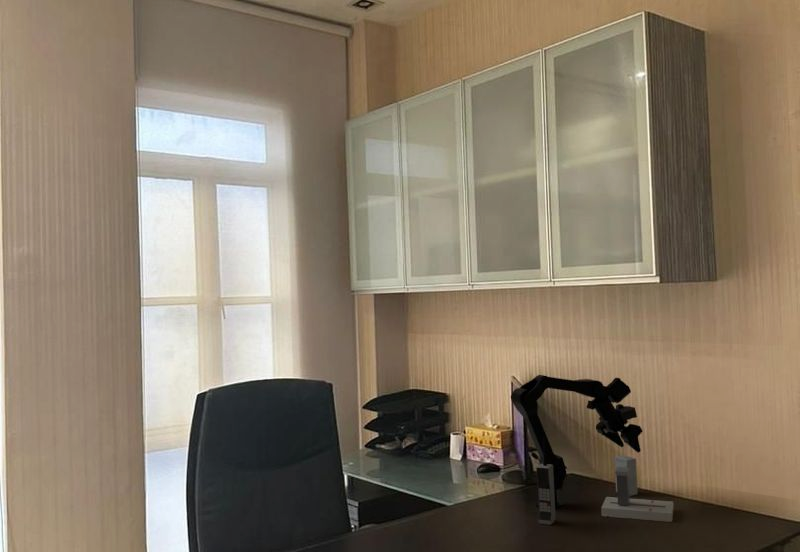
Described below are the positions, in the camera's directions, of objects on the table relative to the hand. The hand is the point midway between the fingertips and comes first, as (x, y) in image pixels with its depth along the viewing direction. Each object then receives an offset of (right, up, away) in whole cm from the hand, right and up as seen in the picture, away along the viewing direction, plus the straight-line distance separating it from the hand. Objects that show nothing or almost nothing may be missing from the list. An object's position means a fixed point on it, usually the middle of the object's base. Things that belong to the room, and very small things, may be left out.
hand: (630, 449), depth 237 cm
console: (-4, -15, -20) cm, 25 cm away
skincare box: (-1, -15, +1) cm, 15 cm away
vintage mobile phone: (-33, -16, -25) cm, 45 cm away
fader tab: (-8, -12, -19) cm, 24 cm away
